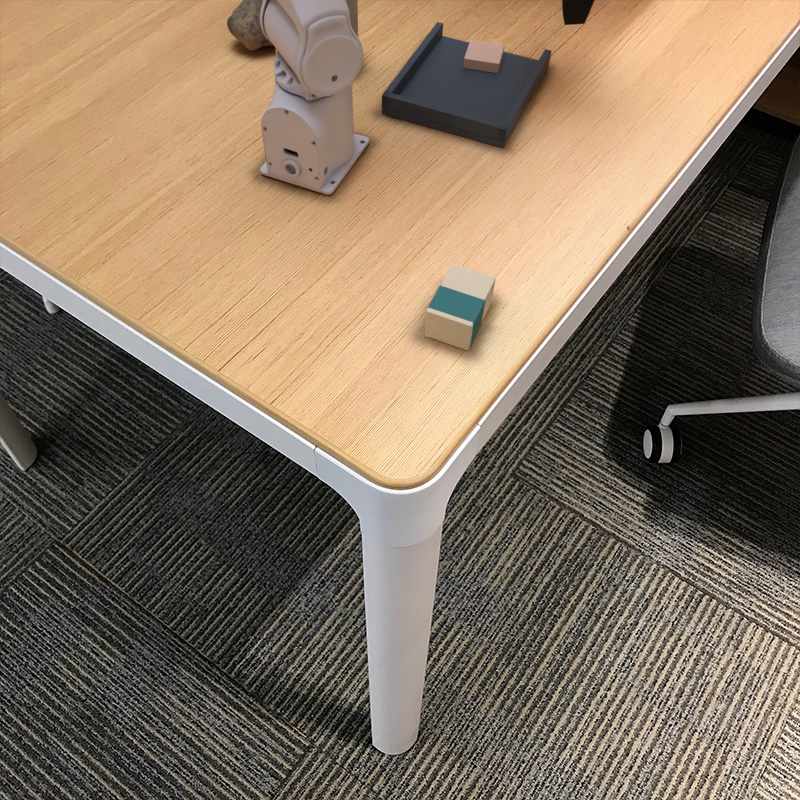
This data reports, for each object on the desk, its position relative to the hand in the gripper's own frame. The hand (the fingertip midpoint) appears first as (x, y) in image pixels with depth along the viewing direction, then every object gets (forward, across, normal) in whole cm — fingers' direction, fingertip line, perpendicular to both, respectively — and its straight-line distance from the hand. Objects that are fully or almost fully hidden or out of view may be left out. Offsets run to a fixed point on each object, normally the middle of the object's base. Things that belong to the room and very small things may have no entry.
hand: (569, 1), depth 79 cm
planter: (+8, +2, +25) cm, 26 cm away
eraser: (+7, -36, +14) cm, 39 cm away
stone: (+7, +7, +32) cm, 34 cm away
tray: (+9, -2, +10) cm, 14 cm away
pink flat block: (+8, +3, +8) cm, 12 cm away
